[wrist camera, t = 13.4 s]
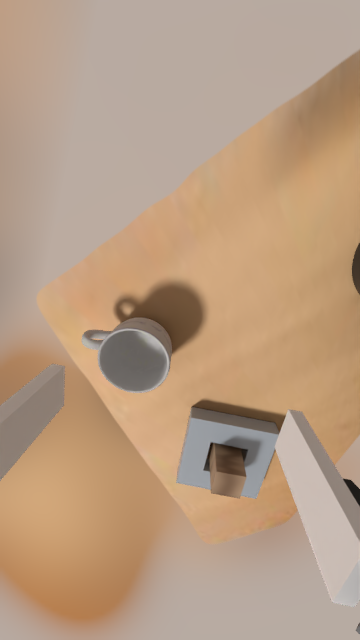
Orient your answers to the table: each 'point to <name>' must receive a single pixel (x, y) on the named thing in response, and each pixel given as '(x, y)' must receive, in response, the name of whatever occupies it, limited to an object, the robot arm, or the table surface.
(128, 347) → the teacup
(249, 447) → the housing
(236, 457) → the peg
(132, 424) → the table surface
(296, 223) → the table surface
